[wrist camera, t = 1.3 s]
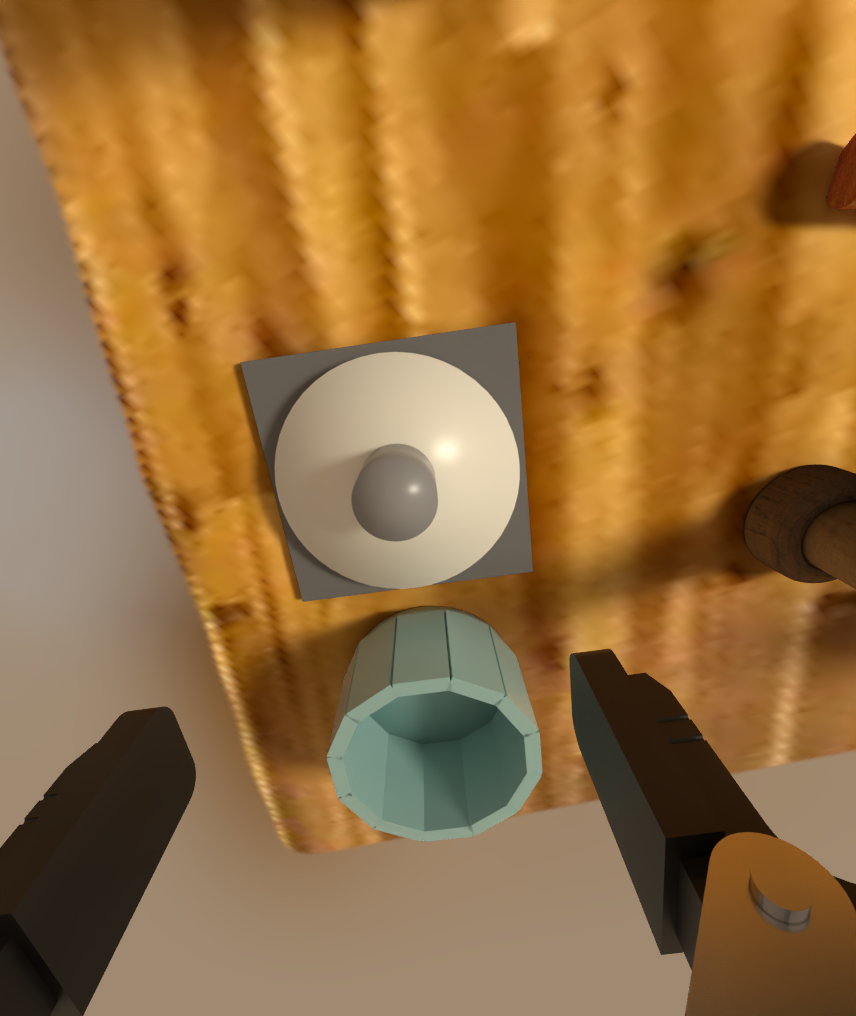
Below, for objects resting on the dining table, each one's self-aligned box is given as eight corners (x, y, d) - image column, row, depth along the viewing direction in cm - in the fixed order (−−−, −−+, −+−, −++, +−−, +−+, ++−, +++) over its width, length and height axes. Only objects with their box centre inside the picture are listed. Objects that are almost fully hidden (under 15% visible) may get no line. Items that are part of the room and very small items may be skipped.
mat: (243, 362, 24) (240, 362, 24) (513, 322, 24) (515, 322, 23) (304, 597, 29) (302, 601, 28) (530, 567, 29) (532, 571, 28)
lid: (252, 371, 24) (216, 377, 20) (506, 334, 24) (525, 332, 19) (309, 593, 28) (289, 638, 24) (524, 565, 28) (543, 605, 24)
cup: (333, 615, 29) (308, 694, 23) (508, 592, 29) (534, 666, 22) (365, 748, 33) (352, 850, 26) (520, 729, 33) (546, 827, 26)
